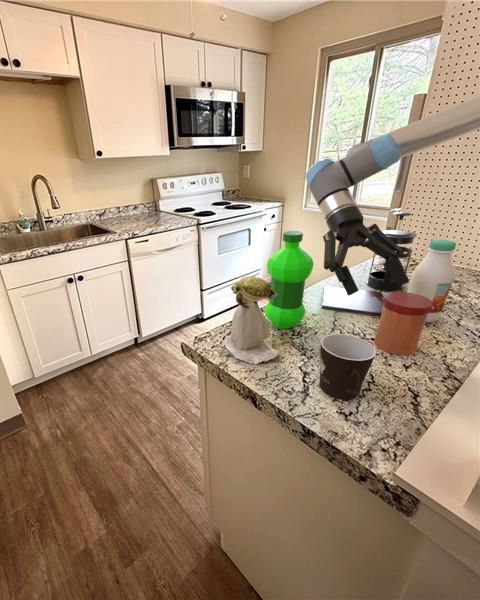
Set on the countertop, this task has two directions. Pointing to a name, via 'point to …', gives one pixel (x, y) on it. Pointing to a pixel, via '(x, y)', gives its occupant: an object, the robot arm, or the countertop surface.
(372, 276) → the french press
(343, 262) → the robot arm
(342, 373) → the coffee mug
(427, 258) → the milk bottle
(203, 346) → the countertop surface
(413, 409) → the countertop surface
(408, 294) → the lid
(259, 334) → the turtle figurine
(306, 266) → the plastic bottle
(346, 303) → the board
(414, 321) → the jar
